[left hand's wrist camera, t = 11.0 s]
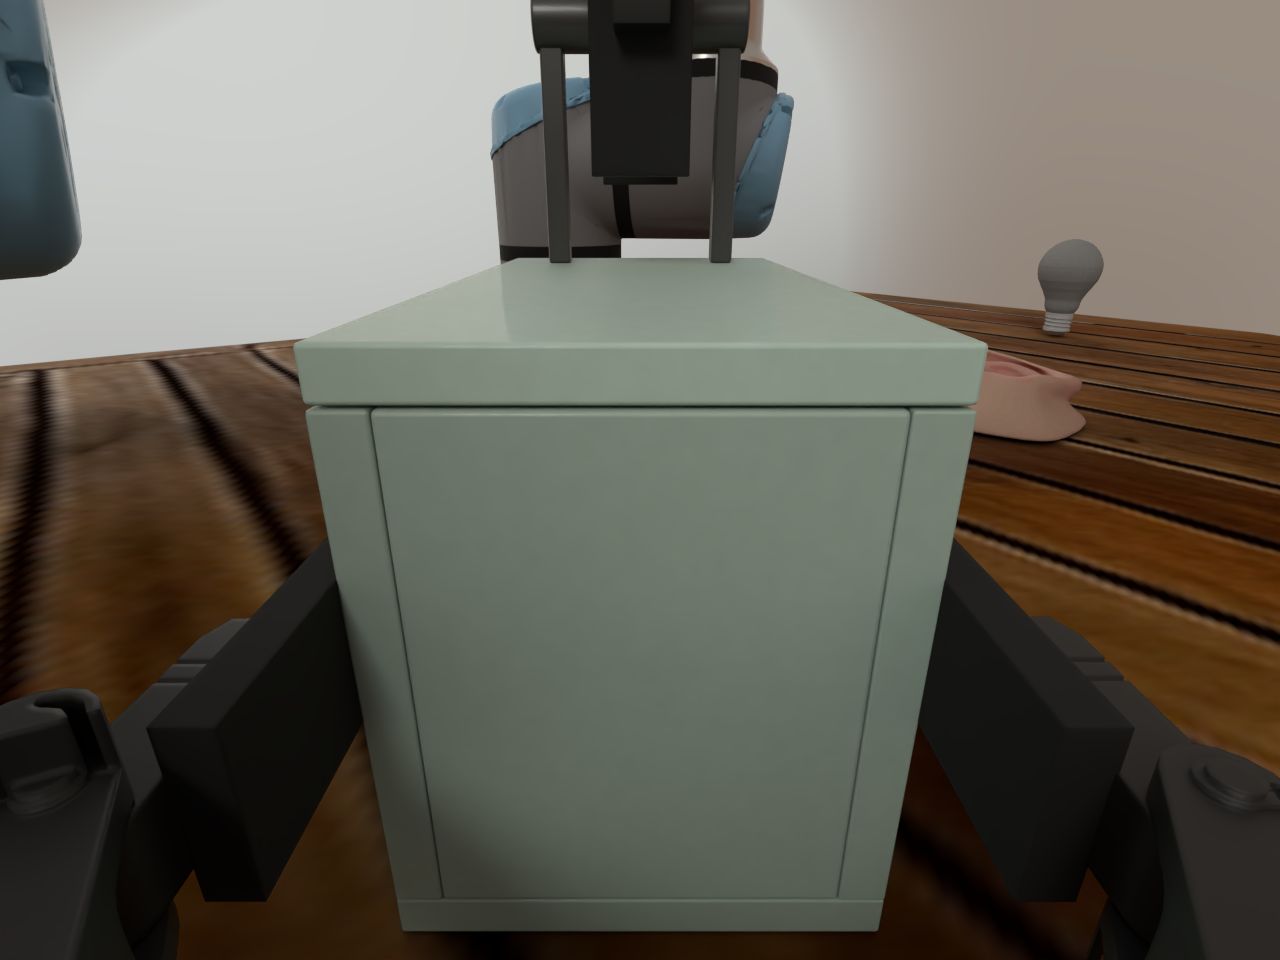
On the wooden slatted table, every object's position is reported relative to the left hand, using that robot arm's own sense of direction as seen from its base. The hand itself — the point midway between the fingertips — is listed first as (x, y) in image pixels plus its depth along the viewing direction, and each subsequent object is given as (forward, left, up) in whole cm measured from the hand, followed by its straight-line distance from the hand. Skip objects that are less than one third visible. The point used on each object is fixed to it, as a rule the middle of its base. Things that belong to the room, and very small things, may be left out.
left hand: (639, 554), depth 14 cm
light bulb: (-20, +77, -6) cm, 79 cm away
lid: (-4, +3, +4) cm, 7 cm away
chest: (-4, +3, -6) cm, 8 cm away
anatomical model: (-10, +39, -6) cm, 41 cm away
